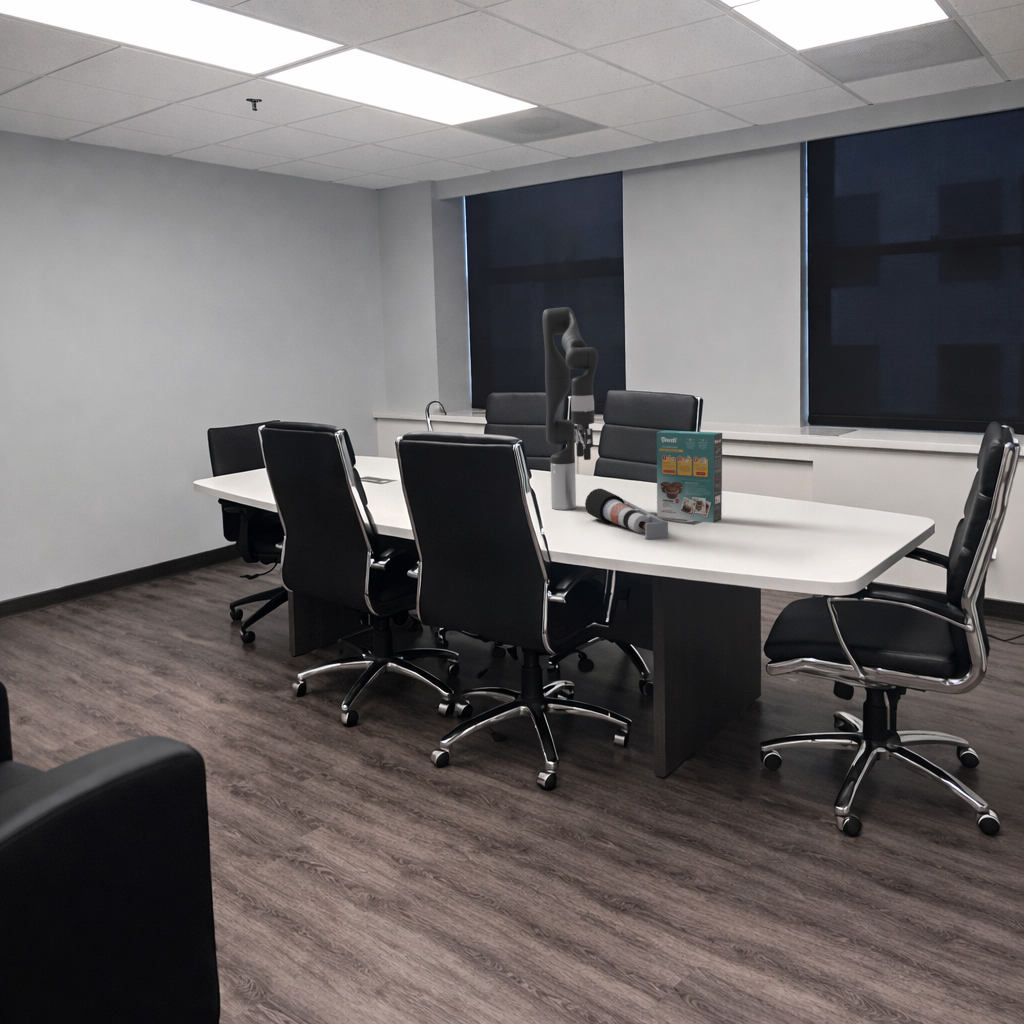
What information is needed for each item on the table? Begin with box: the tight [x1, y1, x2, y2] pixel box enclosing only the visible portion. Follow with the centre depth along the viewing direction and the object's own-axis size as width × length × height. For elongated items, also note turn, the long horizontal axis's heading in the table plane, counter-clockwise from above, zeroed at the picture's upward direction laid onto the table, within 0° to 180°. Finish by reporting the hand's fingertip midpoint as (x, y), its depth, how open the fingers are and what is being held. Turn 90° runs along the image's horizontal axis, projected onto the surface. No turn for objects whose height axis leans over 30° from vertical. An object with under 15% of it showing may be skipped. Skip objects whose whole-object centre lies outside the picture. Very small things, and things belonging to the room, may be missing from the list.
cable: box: [584, 488, 650, 534], centre depth 310 cm, size 10×34×10 cm, turn 25°
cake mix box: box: [656, 430, 723, 523], centre depth 319 cm, size 22×6×30 cm, turn 51°
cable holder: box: [623, 499, 669, 540], centre depth 315 cm, size 50×7×5 cm, turn 11°
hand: (583, 458), depth 306 cm, fingers open, 8 cm apart
